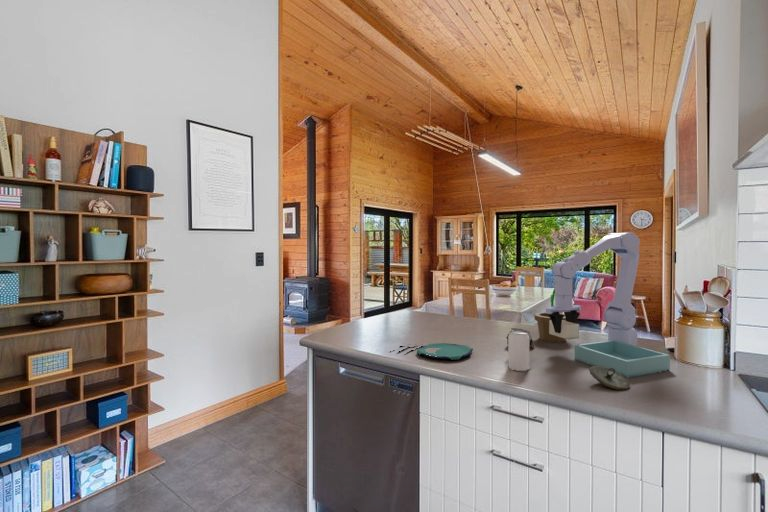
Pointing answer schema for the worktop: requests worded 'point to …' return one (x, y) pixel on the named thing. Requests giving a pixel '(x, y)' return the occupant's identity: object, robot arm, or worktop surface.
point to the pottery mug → (530, 342)
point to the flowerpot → (547, 325)
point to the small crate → (565, 330)
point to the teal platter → (446, 351)
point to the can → (518, 350)
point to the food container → (526, 331)
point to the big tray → (623, 358)
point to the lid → (609, 377)
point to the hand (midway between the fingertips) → (563, 331)
